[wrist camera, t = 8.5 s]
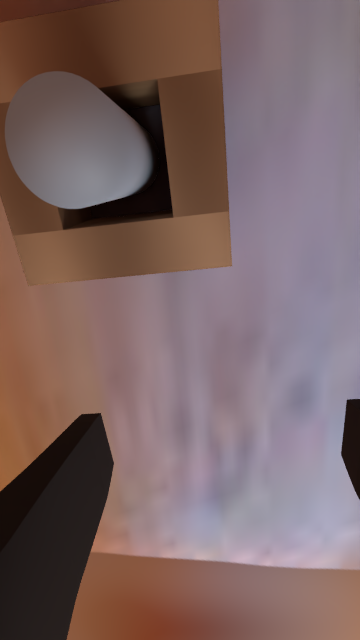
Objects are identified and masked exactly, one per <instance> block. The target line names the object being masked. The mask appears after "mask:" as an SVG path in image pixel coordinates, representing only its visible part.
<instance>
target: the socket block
mask: <svg viewBox="0 0 360 640" xmlns="http://www.w3.org/2000/svg"><path fill="white" fill-rule="evenodd" d="M52 71H63V72H68V73H72V74H75V75H78V76H80V77H82V78H84V79H86V80H88V81H89V82H91V83H92V84H93V85H95V86H96V87H97V88H98V89H99V90H101V91H102V92H103V93H104V94H105V95H106V96H108V97H109V98H110V99H111V100H112V101H113V102H114V103H116V104H117V105H118V106H119V107H120V108H121V109H122V110H124V109H131V108H138V107H144V106H151V105H158V104H160V106H161V115H162V123H163V132H164V141H165V149H166V158H167V166H168V175H169V183H170V192H171V200H172V209H173V210H164V211H155V212H147V213H138V214H129V215H121V216H112V217H103V218H95V219H92V214H91V209H90V206H89V207H85V208H80V209H66V208H61V207H57V206H54V205H51V204H49V203H47V202H45V201H44V200H42V199H40V198H39V197H38V196H36V195H35V194H34V193H33V192H31V191H30V190H29V189H28V188H27V187H26V185H25V184H24V183H23V182H22V180H21V179H20V178H19V176H18V174H17V173H16V171H15V169H14V167H13V165H12V163H11V160H10V158H9V155H8V151H7V147H6V141H5V120H6V115H7V111H8V108H9V105H10V103H11V101H12V99H13V97H14V95H15V94H16V92H17V91H18V89H19V88H20V87H21V86H22V85H23V84H24V83H25V82H27V81H28V80H29V79H31V78H33V77H35V76H37V75H39V74H42V73H45V72H52ZM0 196H1V199H2V202H3V206H4V209H5V212H6V215H7V218H8V222H9V225H10V228H11V231H12V235H13V238H14V241H15V244H16V247H17V251H18V254H19V257H20V260H21V264H22V267H23V270H24V273H25V277H26V280H27V283H28V286H32V285H42V284H53V283H63V282H73V281H84V280H94V279H104V278H115V277H125V276H135V275H146V274H156V273H166V272H177V271H187V270H197V269H208V268H218V267H228V266H232V258H231V239H230V219H229V200H228V181H227V162H226V143H225V124H224V105H223V86H222V67H221V48H220V28H219V9H218V0H120V1H114V2H109V3H103V4H98V5H92V6H87V7H81V8H76V9H70V10H65V11H59V12H54V13H48V14H43V15H37V16H32V17H26V18H21V19H15V20H10V21H4V22H0Z"/></svg>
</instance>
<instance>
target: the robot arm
mask: <svg viewBox="0 0 360 640" xmlns="http://www.w3.org/2000/svg"><path fill="white" fill-rule="evenodd" d="M341 455H342V458H343V461H344V463H345V466H346V469H347V472H348V474H349V477H350V479H351V482H352V484H353V487H354V489H355V492H356V494H357V496H358V497H359V499H360V399H350V400H347V404H346V414H345V423H344V433H343V442H342V451H341ZM113 465H114V462H113V458H112V454H111V451H110V447H109V443H108V439H107V435H106V431H105V428H104V424H103V420H102V416H101V413H96V414H81V415H80V416H79V417H78V418H77V419H76V420H75V421H74V422H73V423H72V424H71V425H70V426H69V427H68V428H67V429H66V430H65V431H64V432H63V433H62V434H61V435H60V436H59V437H58V438H57V439H56V440H55V441H54V442H53V443H52V444H51V445H50V446H49V447H48V448H47V449H46V450H45V451H44V452H43V453H42V454H41V455H39V456H38V457H37V458H36V459H35V460H34V461H33V462H32V463H31V464H30V465H29V466H28V467H27V468H26V469H25V470H24V471H23V472H22V473H20V474H19V475H18V476H17V477H16V478H15V479H14V480H13V481H12V482H10V483H9V484H8V485H7V486H6V487H5V488H4V489H3V490H2V491H1V492H0V640H66V639H67V635H68V631H69V626H70V622H71V618H72V613H73V609H74V605H75V600H76V597H77V593H78V590H79V586H80V583H81V579H82V576H83V573H84V570H85V567H86V564H87V561H88V557H89V554H90V551H91V548H92V545H93V542H94V539H95V535H96V532H97V529H98V526H99V523H100V520H101V516H102V513H103V510H104V507H105V503H106V500H107V496H108V492H109V487H110V482H111V476H112V471H113Z"/></svg>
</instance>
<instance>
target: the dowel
mask: <svg viewBox="0 0 360 640" xmlns="http://www.w3.org/2000/svg"><path fill="white" fill-rule="evenodd" d="M5 141H6V147H7V151H8V155H9V158H10V160H11V163H12V165H13V167H14V169H15V171H16V173H17V174H18V176H19V178H20V179H21V180H22V182H23V183H24V184H25V185H26V187H27V188H28V189H29V190H30V191H31V192H33V193H34V194H35V195H36V196H38V197H39V198H40V199H42V200H44V201H45V202H47V203H49V204H51V205H54V206H57V207H61V208H66V209H80V208H85V207H89V206H93V205H97V204H101V203H104V202H108V201H112V200H116V199H120V198H123V197H127V196H131V195H135V194H138V193H141V192H143V191H145V190H146V189H147V188H149V187H150V186H151V185H152V183H153V182H154V180H155V179H156V177H157V174H158V171H159V165H160V156H159V151H158V147H157V145H156V142H155V140H154V139H153V137H152V136H151V135H150V133H149V132H148V131H147V130H145V129H144V128H143V127H142V126H141V125H140V124H139V123H137V122H136V121H135V120H134V119H133V118H132V117H130V116H129V115H128V114H127V113H126V112H125V111H124V110H122V109H121V108H120V107H119V106H118V105H117V104H116V103H114V102H113V101H112V100H111V99H110V98H109V97H108V96H106V95H105V94H104V93H103V92H102V91H101V90H99V89H98V88H97V87H96V86H95V85H93V84H92V83H91V82H89V81H88V80H86V79H84V78H82V77H80V76H78V75H75V74H72V73H68V72H63V71H52V72H45V73H42V74H39V75H37V76H35V77H33V78H31V79H29V80H28V81H27V82H25V83H24V84H23V85H22V86H21V87H20V88H19V89H18V91H17V92H16V94H15V95H14V97H13V99H12V101H11V103H10V105H9V108H8V111H7V115H6V120H5Z"/></svg>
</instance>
